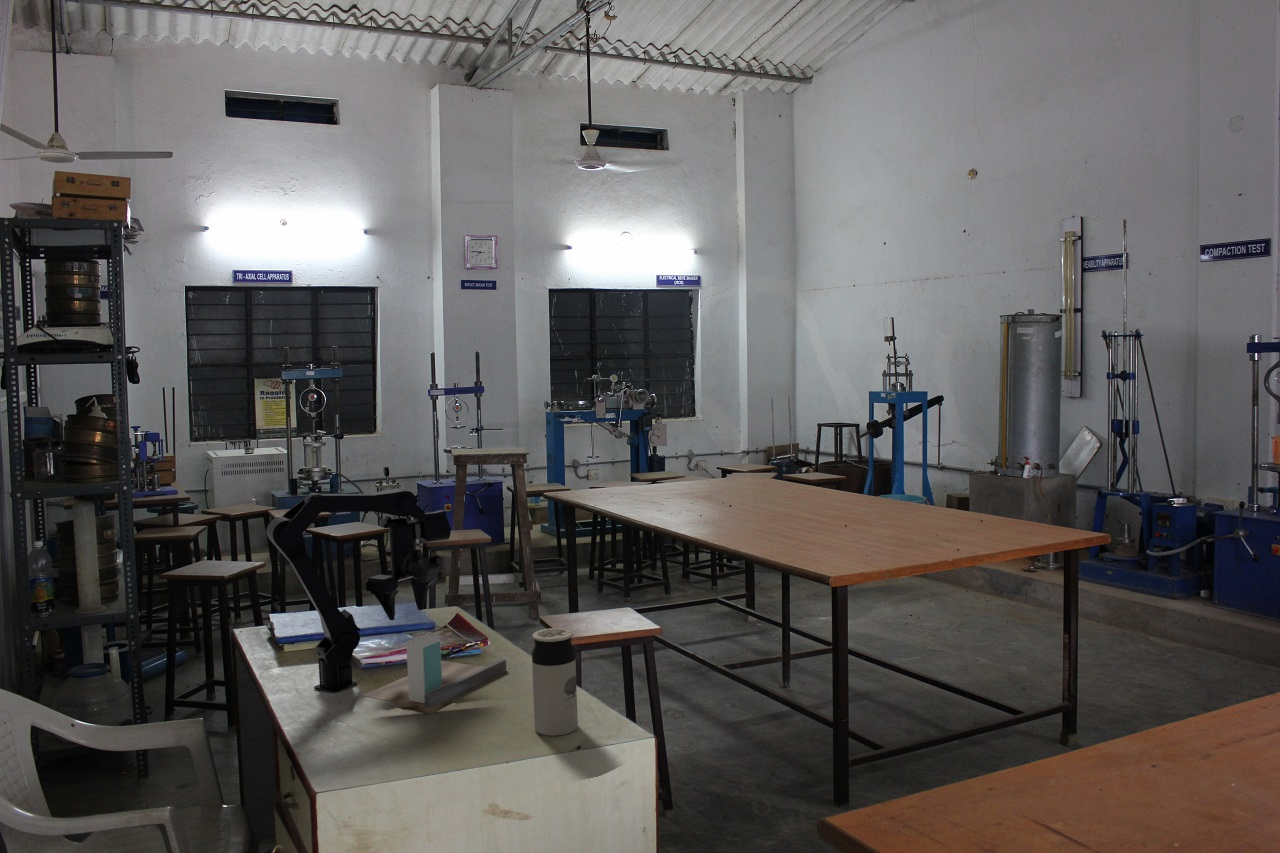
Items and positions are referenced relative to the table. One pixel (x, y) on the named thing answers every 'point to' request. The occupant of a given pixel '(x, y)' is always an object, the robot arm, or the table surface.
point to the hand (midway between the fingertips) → (406, 614)
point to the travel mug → (554, 682)
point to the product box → (423, 666)
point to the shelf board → (453, 683)
